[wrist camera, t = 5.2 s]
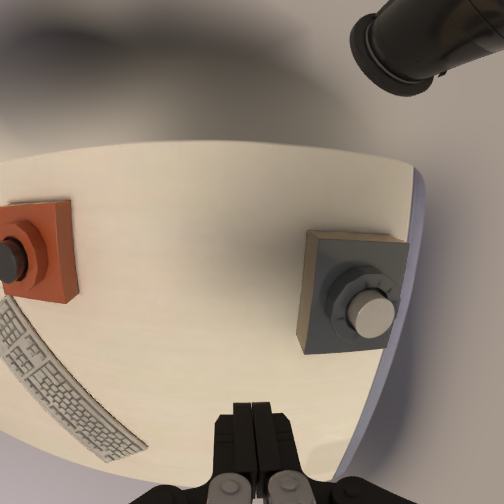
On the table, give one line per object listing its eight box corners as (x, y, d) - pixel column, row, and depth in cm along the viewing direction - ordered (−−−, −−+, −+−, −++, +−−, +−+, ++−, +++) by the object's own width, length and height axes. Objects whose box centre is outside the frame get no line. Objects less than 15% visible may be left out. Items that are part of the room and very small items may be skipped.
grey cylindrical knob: (350, 288, 22) (360, 298, 20) (387, 288, 22) (399, 297, 21) (343, 328, 23) (351, 340, 21) (379, 325, 23) (389, 336, 21)
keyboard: (148, 446, 33) (146, 455, 31) (108, 456, 34) (105, 464, 32) (10, 292, 26) (1, 298, 24) (-14, 323, 27) (-21, 328, 25)
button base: (8, 204, 24) (-19, 210, 19) (70, 200, 24) (43, 205, 19) (18, 285, 26) (-6, 300, 21) (79, 293, 27) (56, 312, 22)
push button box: (306, 229, 27) (326, 244, 21) (389, 234, 27) (421, 248, 21) (295, 334, 29) (308, 367, 23) (371, 330, 30) (395, 358, 24)
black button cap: (1, 237, 20) (-12, 242, 18) (25, 238, 20) (13, 243, 18) (6, 275, 21) (-5, 282, 19) (31, 278, 21) (19, 285, 19)
